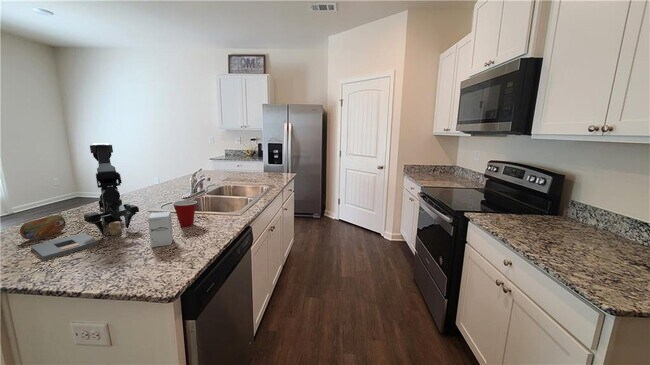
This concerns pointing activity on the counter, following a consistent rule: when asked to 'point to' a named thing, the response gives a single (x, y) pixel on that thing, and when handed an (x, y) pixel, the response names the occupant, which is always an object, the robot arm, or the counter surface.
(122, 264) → the counter surface
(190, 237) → the counter surface
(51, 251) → the hole plate
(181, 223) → the plastic cup
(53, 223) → the tin
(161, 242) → the supplement box
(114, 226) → the peg
